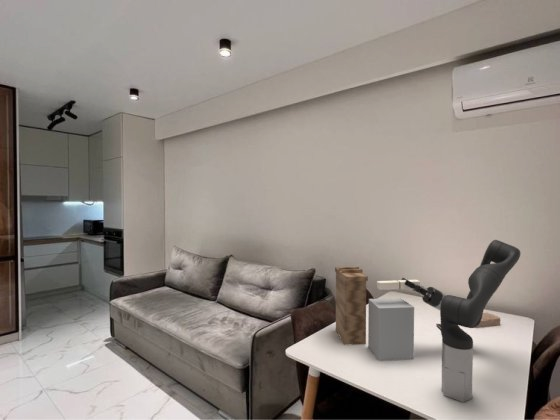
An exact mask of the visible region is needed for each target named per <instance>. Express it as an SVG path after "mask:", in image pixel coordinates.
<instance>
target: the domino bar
mask: <svg viewBox="0 0 560 420" xmlns="http://www.w3.org/2000/svg"><path fill="white" fill-rule="evenodd" d="M406 280H408V281H410V282H412V283H414V285H415V284H417V285H418V286H419V285H420V286H421V280H419V279H406ZM406 280H402V279H399V280H398V279H396V280H395V279H394V280H377V281H376V289H378V290H379V291H386V290H409V289H411V290H412V288H410V287H408V286H407V285H405V281H406Z"/></svg>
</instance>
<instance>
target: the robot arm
mask: <svg viewBox="0 0 560 420" xmlns="http://www.w3.org/2000/svg"><path fill="white" fill-rule="evenodd" d="M520 257H521V250H520V249H519V248H517V247H516V246H513V245H512V244H509V243H506V242H503V241H501V240H498V239H494V240H492V241H490V243H489V244H488V246H487V247H486V249H485V252H484V255H483V257H482V259H481V262H480V265H479V266H478V267H476V268H475V269H474V271H473V272H472V273H471V274H470V276H469V277H468V281H467V282H468V283H467V284H468V288H469V292H468V294H467V296H466V298H465V297H461V296H457V295H452V294H446V293H444V292H442V291H440V290H438V289H437V288H436V287H433V286H429V287H428V286H427V287H425V286H423V285H421V284H420V285H419V286H418V285H417V284H415V285H414V283H412V282H410V281H408V280H409V279H406V278H405V277H402V278H401V280H406V281H405V285H407V286H408V287H410V288H412V289H411V290H412V291H413V292H415V293H416V294H417V295H419V296H421V297H422V298H421V299H422V302H424V303H425V304H427V305H429V306H430V307H432V308H434V309H436V310H438V311H440V313H439V314H440V315H439V316H440V334H441V335H440V336H441V338H442V339H441V391H442V392H443V393H442V394H443V396H445V397H448V398H451V399H453V400H456V401H458V402H461V403H465V402H466V401H470V400H472V399H473V371H474V370H473V364H474V363H473V360H474V340H473V337H472V336H471V335H470V334H469V333H467V332H466V331H464V330H463V329H462V328H461V327H463V328H469V329H476V328H475V327H477V326H478V325H479V324H480V322H481V319H482V315H483V313H484V310H485V308H486V306H487V304H488V303H489V301H490V300H491V298H492V296H494V294H495V292H496V291H497V290H498V289H499V287H500V286H501V284H502V283H503V281H504V279H505V278H506V276H507V275H508V273H509V272H510V271H511V270H512V269H513V268H514V266H515V265H516V264H517V263H518V261H519V260H520ZM491 262H492V263H491Z"/></svg>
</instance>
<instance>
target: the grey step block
mask: <svg viewBox="0 0 560 420" xmlns="http://www.w3.org/2000/svg"><path fill="white" fill-rule="evenodd" d="M367 319H368V323H367V324H368V331H367V332H368V334H367V336H368V337H367V338H368V342H367V343H368V346H367V347H368V348H369V350H370V351H371V353H372V354H373V355H374V357H375V358H376V359H377V360H378V362H380V361H381V362H382V361H399V360H400V361H401V360H402V361H403V360H414V359H415V357H414V355H415V353H414V352H415V347H414V346H415V307H414V305H412V304H411V303H409V302H407V301H406V300H405V299H403V298H402V297H392V298H389V297H386V298H368V318H367Z"/></svg>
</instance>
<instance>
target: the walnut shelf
mask: <svg viewBox="0 0 560 420" xmlns="http://www.w3.org/2000/svg"><path fill="white" fill-rule="evenodd" d="M334 272H335V331H336V330H337V331H336V333H337V332H338V333H337V334H339V335H340V336H339V335H338V336H339V338H340V337H341V338H340V339H341V341H342V340H343V341H342V343H343V342H344V343H343V345H345V344H352V345H366V344H367V281H369V276H368V275H367V274H365V273H364V272H363V269H362V268H360V266H336V267H334Z"/></svg>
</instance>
